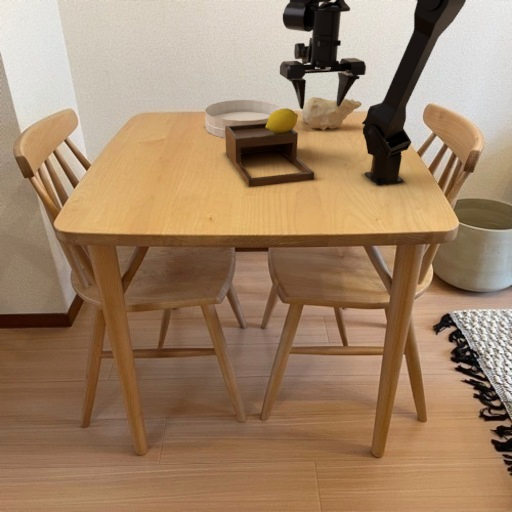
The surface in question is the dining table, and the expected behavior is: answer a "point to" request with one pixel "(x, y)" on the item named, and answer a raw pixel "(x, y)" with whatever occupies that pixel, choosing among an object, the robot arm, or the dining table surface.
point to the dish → (236, 114)
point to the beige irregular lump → (327, 112)
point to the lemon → (282, 121)
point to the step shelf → (263, 140)
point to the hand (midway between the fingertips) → (320, 107)
